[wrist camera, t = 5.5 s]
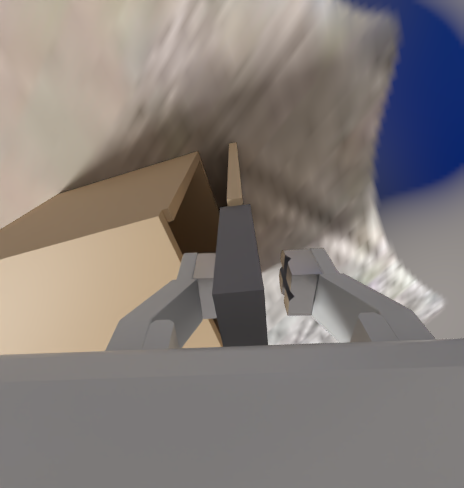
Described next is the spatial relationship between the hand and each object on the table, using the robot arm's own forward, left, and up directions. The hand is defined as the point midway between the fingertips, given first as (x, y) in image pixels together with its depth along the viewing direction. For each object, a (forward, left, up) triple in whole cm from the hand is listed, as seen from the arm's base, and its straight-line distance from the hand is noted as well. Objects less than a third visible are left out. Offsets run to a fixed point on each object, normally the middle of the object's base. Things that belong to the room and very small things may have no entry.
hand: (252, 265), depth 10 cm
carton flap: (+5, -1, -13) cm, 14 cm away
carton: (+5, -9, -14) cm, 17 cm away
